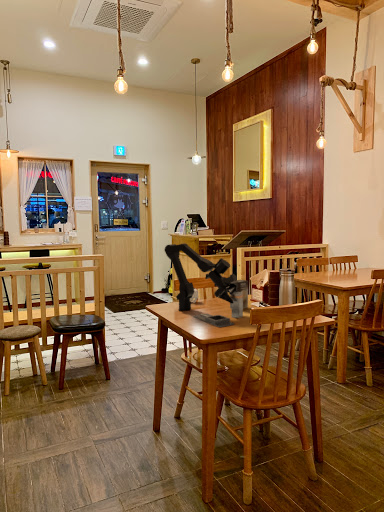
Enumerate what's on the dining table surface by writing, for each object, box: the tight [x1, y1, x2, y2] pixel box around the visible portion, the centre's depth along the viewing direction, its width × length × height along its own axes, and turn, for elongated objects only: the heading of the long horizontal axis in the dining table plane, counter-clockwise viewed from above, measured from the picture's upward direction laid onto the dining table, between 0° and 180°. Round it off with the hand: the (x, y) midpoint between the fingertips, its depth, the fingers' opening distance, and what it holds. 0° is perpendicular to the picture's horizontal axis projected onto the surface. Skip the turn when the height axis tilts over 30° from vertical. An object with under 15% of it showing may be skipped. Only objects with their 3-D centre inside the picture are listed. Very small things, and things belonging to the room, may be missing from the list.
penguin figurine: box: [190, 288, 199, 304], centre depth 236 cm, size 6×8×12 cm
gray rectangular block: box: [231, 292, 244, 319], centre depth 198 cm, size 5×5×13 cm
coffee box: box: [229, 279, 249, 309], centre depth 219 cm, size 9×6×16 cm
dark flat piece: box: [192, 313, 235, 328], centre depth 192 cm, size 24×9×2 cm, turn 31°
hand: (236, 301), depth 198 cm, fingers open, 9 cm apart
